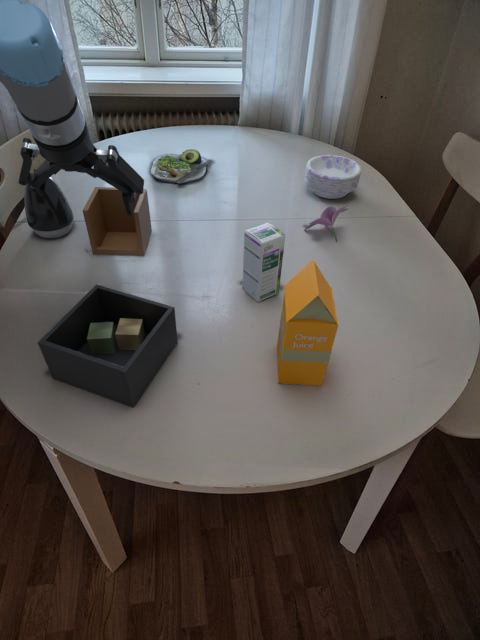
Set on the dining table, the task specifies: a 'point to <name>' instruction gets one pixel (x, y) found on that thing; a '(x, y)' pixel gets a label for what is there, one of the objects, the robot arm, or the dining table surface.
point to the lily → (328, 217)
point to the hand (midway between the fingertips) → (93, 206)
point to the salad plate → (180, 167)
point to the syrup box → (262, 261)
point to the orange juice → (306, 328)
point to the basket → (124, 365)
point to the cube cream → (130, 334)
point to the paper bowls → (332, 176)
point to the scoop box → (117, 223)
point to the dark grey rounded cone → (47, 213)
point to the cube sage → (102, 338)
